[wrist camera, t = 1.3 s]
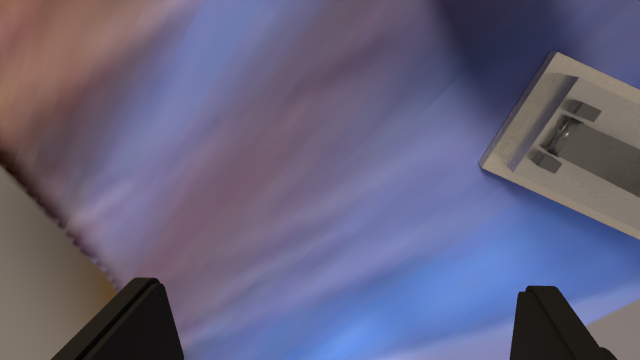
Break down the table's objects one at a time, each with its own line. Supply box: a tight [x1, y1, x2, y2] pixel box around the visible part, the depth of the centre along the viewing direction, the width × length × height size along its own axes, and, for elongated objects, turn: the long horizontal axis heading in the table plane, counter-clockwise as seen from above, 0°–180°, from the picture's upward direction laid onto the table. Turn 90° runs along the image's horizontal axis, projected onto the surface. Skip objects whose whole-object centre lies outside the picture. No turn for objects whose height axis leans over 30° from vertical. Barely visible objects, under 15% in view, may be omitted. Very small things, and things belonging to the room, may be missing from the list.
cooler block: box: [478, 51, 640, 240], centre depth 33 cm, size 12×18×8 cm, turn 67°
